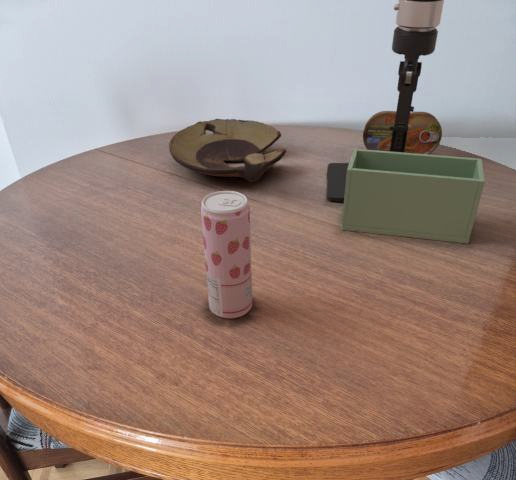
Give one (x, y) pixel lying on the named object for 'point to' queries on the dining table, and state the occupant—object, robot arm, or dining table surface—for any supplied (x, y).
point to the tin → (418, 136)
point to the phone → (336, 181)
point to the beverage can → (227, 253)
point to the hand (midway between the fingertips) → (396, 154)
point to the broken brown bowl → (226, 148)
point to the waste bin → (412, 195)
